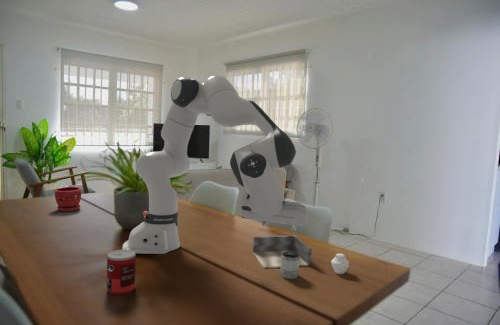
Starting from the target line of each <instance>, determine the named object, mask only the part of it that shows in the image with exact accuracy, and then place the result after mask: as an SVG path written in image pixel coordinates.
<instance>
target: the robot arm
mask: <svg viewBox="0 0 500 325" xmlns="http://www.w3.org/2000/svg"><path fill="white" fill-rule="evenodd" d="M170 97H171V101H172V104H171V106H170V107H169V110H168V112H167V115H166V118H165V120H164V123H163V125H162V129H161V130H160V136H161V138H162V140H163V141H164V142H163V144H164V145H163V149H162V150H160V151H149V152H146V153H143V154H141V155H139V157H138V158H137V160H136V162H135V171H136V173H137V175H138V177H140V178H141V179H142V180H143V181H144V184H145V185H146V187H147V191H148V207H149V208H148V211H147V210H145V211H143V214H142V216H143V221H142V222H141V223H140V224H138V225H137V226H136V227H134V228H133V229H132V230H131V231H130V232H129V237H128V240H125V242H124V243H123V244H122V248H121V250H122V249H126V250H132V251H134V252H135V254H144V255H145V254H150V255H151V254H152V255H153V254H154V255H155V254H156V255H165V254H167V253H168V252H171V251H175V250H177V249H179V248H180V247H181V242H180V238H179V230H178V225H179V212H178V196H179V195H178V193H177V191H176V190H175V189H174V188H173V187H172V184H171V178H175V177H180V176H181V175H184V174H185V173H187V172H188V170H189V169H190V166H191V161H190V158H189V156H188V145H189V141H190V139H191V135H192V133H193V131H194V129H195V128H194V127H195V125H196V122H197V120H198V117H199V116H200V115H201V114H202V115H206V116H208V117H210V116H211V118H212V120H213V121H214V122H215V123H216V124H218V126H222V127H226V128H233V127H234V128H235V127H240V126H246V125H247V126H249V125H251V126H256V127H257V128H259V130H260V131H261V132H262V133H263V135H265V137H263V138H261V139H258V140H256V141H253V142H251V143H248V144H246V145H244V146H241V147H239V148H238V149H236V150H234V151H233V152H232V155H231V158H230V159H229V160H230V161H229V165H230V168H231V171H232V174H233V175H234V176H235V178H236V180H237V183H238V185H240V186H242V187H244V190H243V192H242V194H241V197H240V199H239V202H238V208H239V211H240V214H241V216H242V217H243V218H245V219H247V220H252V221H256V222H258V223H260V224H261V226H262V227H268V225H269V223H274V224H275V223H276V224H283V225H290V226H289V228H290V230H291V231H297V229H298V228H297V227H302V228H303V227H306V226H307V225H308V223H309V221H310V220H309V219H310V214H309V212H308V209H307V208H306V206H305V205H304V204H302V203H301V202H297V201H290V200H285V196H284V193H283V191H282V188H281V186H280V185H279V183H278V182H279V181H278V178H277V175H276V172H275V170H278V169H281V168H284V167H287V166H289V165H291V164H292V162H294V159H295V157H296V154H297V150H296V147H295V144H294V142H293V140H292V139H291V138H290V136H289V135H287V133H286V132H285V131H283V130H282V129H281V128H280V127H279V126H278V125H277V124H276V123H275V122H274V121H273V120H272V118H271V117H269V115H268V114H267V113H266V112H265V111H264V109H262V108H261V107H260V106H259V105H258V104H257V103H256V102H255V101H254V100H250V99H249V100H248V99H245V98H242V97H241V96H239V93H238V91H237V90H236V89H235V87H234V86H233V85H232V83H231V82H230V81H229V79H227V77H225V76H222V75H219V74H217V75H211V76H210V77H209V78H207V79H206V80H205V81H204V82H203V81H200V80H197V79H195V78H191V77H187V76H186V77H185V76H184V77H183V76H182V77H178V78H177V79H175V81H174V82H173V84H172V87H171V90H170Z"/></svg>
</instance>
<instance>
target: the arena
mask: <svg viewBox="0 0 500 325" xmlns="http://www.w3.org/2000/svg"><path fill="white" fill-rule="evenodd" d="M312 250H313V249H312V248H311V247H310V245H309V244H307V243H306V242H304V241H303V240H302V239H301V238H299V237H298V236H297V235H295V234H293V235H289V234H288V235H267V236H253V237H252V254H253V256H254V257H255V258H256V260H257V261H258V263H259V264H260V265H261V267H262V269H264V270H265V269H278V268H281V255H282V253H284V252H295V253H297V254H298V255H299V257H300V259H299V268H300V267H311V266H312V264H311V263H312Z"/></svg>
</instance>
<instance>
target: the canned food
mask: <svg viewBox="0 0 500 325" xmlns="http://www.w3.org/2000/svg"><path fill="white" fill-rule="evenodd" d="M136 254H137V253H135V252H134V251H132V250H126V249H122V248H121V249H116V250H112V251H110V252H108V253H107V256H106V289H107V292H108V293H109V294H110V295H114V294H116V296H123V295H127V294H131V293H132V292H133V291H134V290H135V287H136V265H137V264H136V260H137V259H136V256H137V255H136ZM122 294H123V295H122Z"/></svg>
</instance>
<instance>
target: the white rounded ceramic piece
mask: <svg viewBox="0 0 500 325" xmlns="http://www.w3.org/2000/svg"><path fill="white" fill-rule="evenodd" d="M346 257H347V256H346V255H345V254H344V253H336V254H335V256H334V258H332V260H331V266H332V268H333V271H334V273H335V274H337V275H343V274H345V272H346V271H347V270H348V268H349V266H350V262H349V261H348V259H347V258H346Z"/></svg>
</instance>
